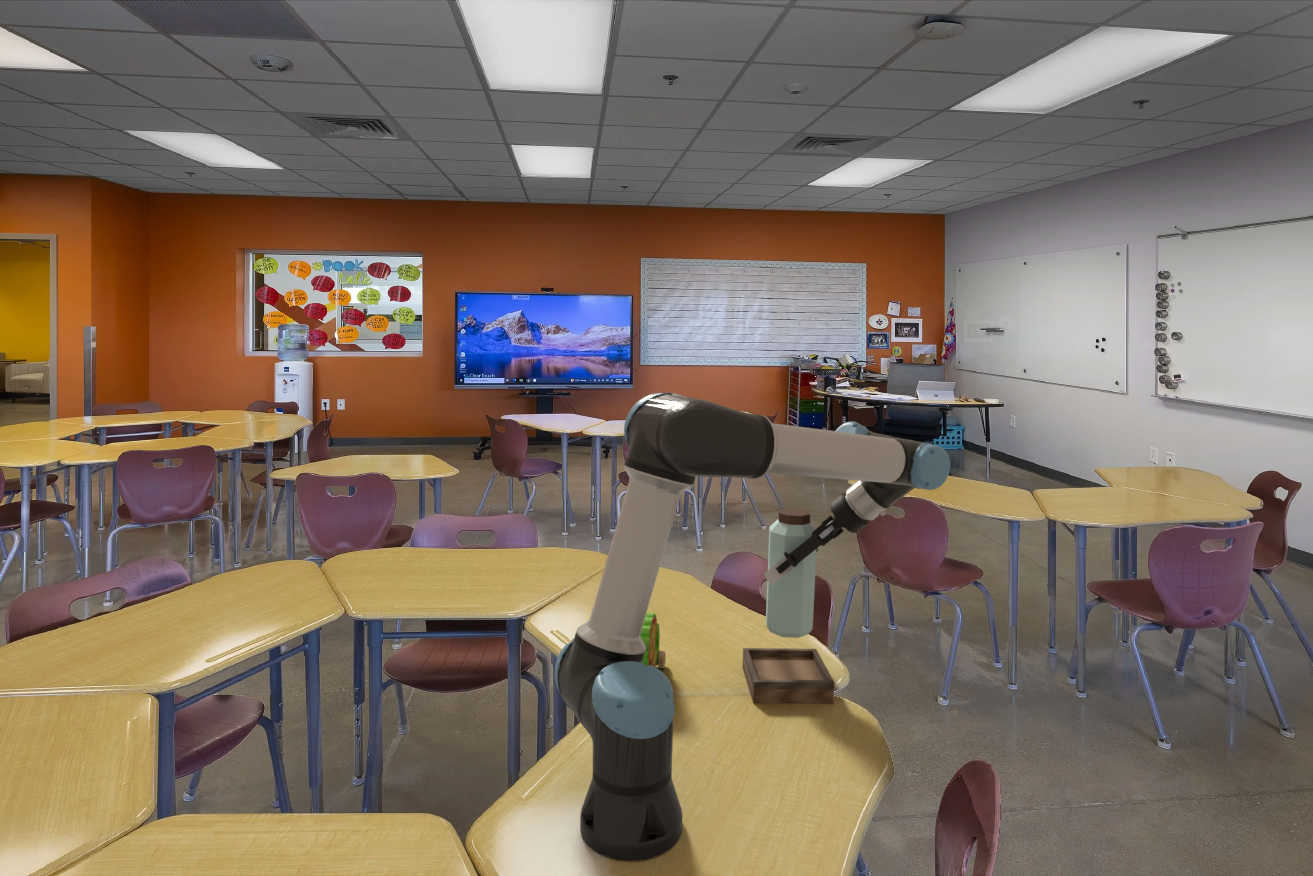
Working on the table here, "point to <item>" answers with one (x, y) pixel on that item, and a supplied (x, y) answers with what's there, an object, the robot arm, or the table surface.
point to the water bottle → (791, 576)
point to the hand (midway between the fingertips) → (776, 571)
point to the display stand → (787, 676)
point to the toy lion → (652, 642)
